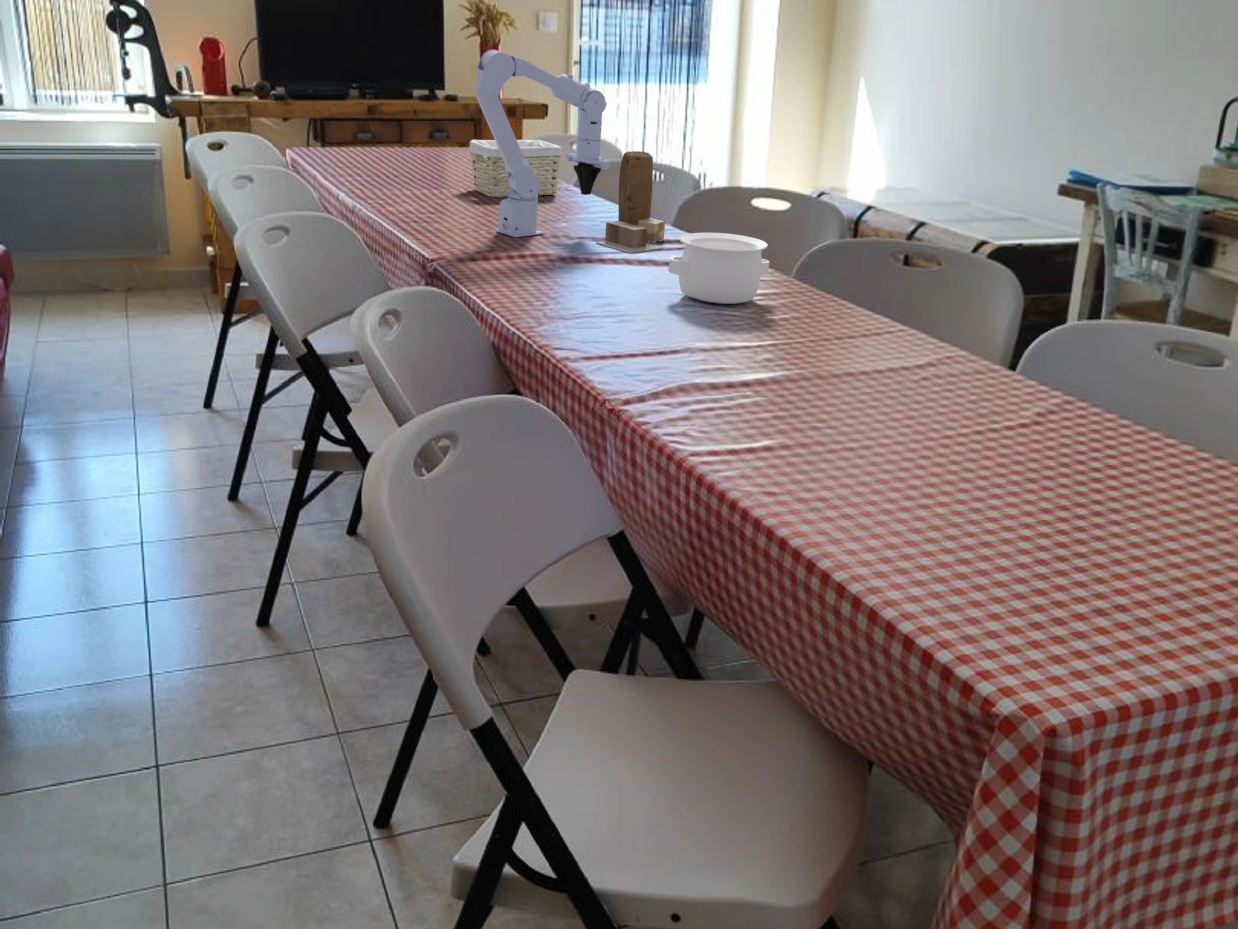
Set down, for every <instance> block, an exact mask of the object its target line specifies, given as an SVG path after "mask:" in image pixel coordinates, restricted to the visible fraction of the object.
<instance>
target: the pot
mask: <svg viewBox="0 0 1238 929" xmlns="http://www.w3.org/2000/svg"><path fill="white" fill-rule="evenodd" d="M679 241H680V243H682V244H683V245H684V250H683V253H682V255H674V256H671V257H670V259H669V264H668V269H667V272H668V273H670V274H673V275H676V276H678V282H679V287H680V292H681V293H682V294H683V295H685V296H686V297H689V298H693V299H695V300H699V301H703V302H706V303H707V302H708V303H713V304H723V305H724V304H726V305H728V304H730V305H732V304H734V305H735V304H741V303H746V302H751V301H752V300H753V299H755V297H756V295H757V292H758V290H759V288H760V283H761V276H763V275H767V274H770V273H769V271H770V261H769V260H767V259H765V258H762V251H763V250H766V249H768V247H769V246H768V243H767V242H766V241H764V240H762V239H759V238H756V237H751V236H746V235H741V234H736V233H735V234H734V233H724V232H693V233H687V234H683V235H681V236H679Z"/></svg>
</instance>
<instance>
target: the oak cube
mask: <svg viewBox="0 0 1238 929" xmlns="http://www.w3.org/2000/svg"><path fill="white" fill-rule="evenodd" d="M638 226H640V227H644V228H647V239H646V241H650V242H656V241H660V240H665V228H666V221H665V220H661V219H653V218H651V217H650V218H647V219H643V220H639V221H638ZM650 242H649V243H650ZM660 242H661V241H660Z"/></svg>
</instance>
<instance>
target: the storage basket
mask: <svg viewBox="0 0 1238 929" xmlns="http://www.w3.org/2000/svg"><path fill="white" fill-rule="evenodd" d="M516 140H517V142H518V145H519V147H520V149H521V152H522V154H523V156H524V158H525V160H526V161H527V163H528V165H529V166H530V168H531V170H532V172H533V173H534V174H535V175H536V176H537V177H538V178H539V180H540V183H541V188H540V191H539V193H538V194H537V196H543V195H544V196H550V195H552V196H553V195H557V192H558V190H557V189H558V182H559V181H558V180H559V169H560V162H561V155H562V147H561V146H560V145H557V144H555V143H550V142H548V141H545V140H540V139H516ZM469 153H470V157H471V158H470V160H471V165H472V166H471V169H472V177H473V188H474V190H475V191H477V192H479V193H481V194H483V195H485V196H488V197H490V198H491V197H492V198H508V197H509V194H510V192H511V188H510V187H509V185H508V174H507V171H506V169H505V162H504V160H503V157H502V155H501V153H500V150H499V148H498V146H497V144H496V141H495V139H471V140H470V141H469Z"/></svg>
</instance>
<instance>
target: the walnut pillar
mask: <svg viewBox="0 0 1238 929" xmlns="http://www.w3.org/2000/svg"><path fill="white" fill-rule="evenodd" d="M605 223H606V224H605V236H604V237H605V238H604V240H605V241H609V242H613V243H616V244H620V245H623V246H627V247H630V248H639V247H646V239H647V228H644V227H640V226H637V225H633V224H629V223H625V222H622V221H619V220H616V221H606V222H605Z"/></svg>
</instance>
